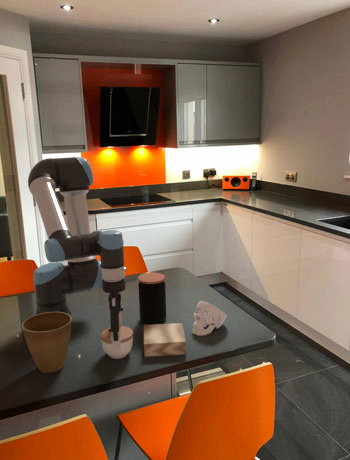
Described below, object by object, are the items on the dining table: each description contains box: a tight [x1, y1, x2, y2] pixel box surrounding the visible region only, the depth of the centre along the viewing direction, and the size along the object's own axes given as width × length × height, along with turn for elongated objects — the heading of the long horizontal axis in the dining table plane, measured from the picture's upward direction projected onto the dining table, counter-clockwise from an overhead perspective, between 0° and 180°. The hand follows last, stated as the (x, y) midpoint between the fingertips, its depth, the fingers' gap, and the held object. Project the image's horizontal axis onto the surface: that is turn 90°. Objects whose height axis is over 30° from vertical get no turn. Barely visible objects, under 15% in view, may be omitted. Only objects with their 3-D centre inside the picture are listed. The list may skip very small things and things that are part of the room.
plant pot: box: [21, 312, 73, 374], centre depth 128 cm, size 15×15×16 cm
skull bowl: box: [191, 300, 227, 337], centre depth 153 cm, size 10×14×12 cm
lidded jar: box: [100, 325, 134, 360], centre depth 135 cm, size 11×11×9 cm
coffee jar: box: [137, 272, 167, 325], centre depth 160 cm, size 11×11×18 cm
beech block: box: [143, 322, 187, 358], centre depth 141 cm, size 14×14×5 cm
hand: (117, 339), depth 135 cm, fingers open, 13 cm apart
